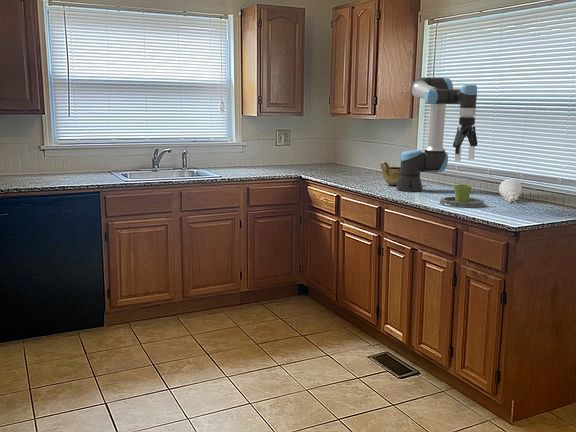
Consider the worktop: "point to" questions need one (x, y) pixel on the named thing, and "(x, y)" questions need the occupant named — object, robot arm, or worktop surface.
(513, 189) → the white teardrop lump
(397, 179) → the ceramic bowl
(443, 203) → the saucer
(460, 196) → the plant pot
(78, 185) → the worktop surface
